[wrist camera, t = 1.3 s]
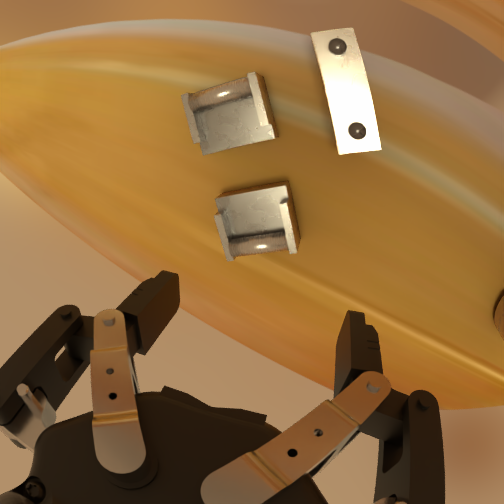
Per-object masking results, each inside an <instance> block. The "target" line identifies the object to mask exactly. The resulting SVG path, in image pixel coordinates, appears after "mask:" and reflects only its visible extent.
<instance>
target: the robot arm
mask: <svg viewBox="0 0 504 504" xmlns="http://www.w3.org/2000/svg"><path fill="white" fill-rule="evenodd" d="M179 304H180V292H179V276H178V274H177V273H172V272H168V271H164V270H163V271H161V272H160V273H159V274H158V275H157V276H156V277H155V278H150V279H148V280H145V281H143V282H142V283H141V284H140V285H139V286H138V287H137V288H136V289H135V290H134V291H133V292H132V294H130V295H129V296H128V297H127V298H126V299H125V300H124V301H123V302H122V303H121V304H120V305H119V306H118V307H117V308H116V309H106V310H103V311H101V312H99V313H98V314H97V315H96V316H95V317H91V316H82V315H81V313H80V310H79V308H78V307H77V306H75V305H64V306H62V307H59V308H58V309H57V310H56V311H55V312H53V314H51V315H50V317H48V318H47V319H46V321H44V323H43V324H41V325H40V326H39V328H38V329H36V331H34V333H33V334H32V335H31V336H30V337H29V338H28V339H27V340H26V341H25V342H24V343H23V344H22V345H21V347H19V348H18V349H17V351H16V352H15V353H14V354H13V355H12V356H11V357H10V358H9V359H8V360H7V361H6V363H5V364H4V365H3V366H2V367H1V368H0V430H1V431H2V432H3V433H4V434H5V436H7V437H8V438H9V439H10V440H11V441H12V442H13V443H14V444H15V445H17V446H18V447H20V448H24V449H26V448H27V449H29V450H30V451H31V452H33V453H34V458H33V464H32V467H31V471H30V474H29V476H28V478H27V479H26V480H25V481H24V482H23V483H22V484H21V485H19V486H18V487H16V488H14V489H12V490H10V491H8V492H5V493H3V494H1V495H0V504H328V502H327V501H326V499H325V498H324V496H323V495H322V493H321V492H320V490H319V489H318V487H317V485H316V484H315V482H314V481H313V479H312V478H314V477H315V476H316V475H317V474H318V473H320V472H321V471H322V470H323V469H324V468H325V467H326V466H327V465H328V464H329V463H330V462H331V461H332V460H333V459H334V458H335V457H336V456H337V455H338V454H339V453H340V452H342V451H343V450H344V449H345V448H346V447H347V446H348V445H349V444H350V443H351V442H352V441H353V440H354V439H355V438H356V437H357V436H358V435H359V434H360V433H361V432H362V433H365V434H367V435H370V436H372V437H375V438H377V439H379V453H378V466H377V477H376V487H375V494H374V502H373V504H445V469H444V452H443V439H442V430H441V421H440V413H439V406H438V402H437V400H436V398H435V397H434V396H433V395H432V394H431V393H429V392H428V391H425V390H416V391H414V392H412V393H411V394H410V396H408V395H406V394H403V393H401V392H398V391H396V390H394V389H392V388H391V384H390V382H389V380H388V379H387V378H386V377H385V376H384V375H383V369H382V360H381V352H380V345H379V338H378V333H377V332H376V330H375V328H374V327H373V326H372V325H366V324H365V315H364V313H362V312H356V311H351V310H348V311H347V313H346V316H345V319H344V322H343V325H342V327H341V330H340V333H339V336H338V340H337V344H336V362H335V383H334V399H333V400H331V401H329V400H325V401H324V402H322V403H321V404H320V405H318V406H317V407H316V408H315V409H313V410H312V411H311V412H310V413H308V414H307V415H306V416H304V417H303V418H302V419H300V420H299V421H298V422H296V423H295V424H294V425H292V426H291V427H290V428H288V429H287V430H285V431H284V432H283V433H282V432H281V431H279V430H278V429H277V428H275V427H273V426H272V425H270V424H268V423H266V422H265V421H266V417H267V415H264V414H259V413H255V412H251V411H247V410H243V409H233V408H216V407H211V406H208V405H207V404H205V403H203V402H201V401H200V400H198V399H196V398H194V397H193V396H191V395H189V394H187V393H184V392H182V391H179V390H176V389H173V388H170V387H167V386H164V387H163V389H162V391H161V392H143V393H140V389H139V384H138V379H137V374H136V368H135V362H134V358H133V356H134V355H135V353H136V352H137V353H139V354H142V355H146V353H147V352H148V350H149V349H150V348H151V346H152V345H153V344H154V342H155V341H156V339H157V338H158V337H159V335H160V334H161V333H162V331H163V330H164V328H165V327H166V326H167V324H168V323H169V321H170V320H171V319H172V317H173V316H174V315H175V313H176V312H177V310H178V308H179ZM494 322H495V325H496V327H497V329H498V331H499V333H500V335H501V336H502V338H503V340H504V295H503V297H502V298H501V300H500V302H499V304H498V306H497V308H496V311H495V316H494ZM63 346H64V347H65V350H64V352H63V353H62V354H61V355H60V356H59V357H58V359H57V360H56V361H55V356H56V354H57V353H58V352H59V350H60V349H61V348H62V347H63ZM89 364H91V388H92V403H93V411H91V412H88V413H85V414H82V415H80V416H77V417H74V418H71V419H68V420H65V421H62V422H59V423H56V424H54V423H55V421H56V413H55V412H56V410H57V409H58V407H59V406H60V404H61V403H62V401H63V400H64V399H65V397H66V396H67V395H68V393H69V392H70V390H71V388H73V386H74V385H75V383H76V382H77V380H78V379H79V378H80V376H81V375H82V374H83V372H84V371H85V370H86V368H87V367H88V365H89Z"/></svg>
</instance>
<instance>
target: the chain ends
mask: <svg viewBox="0 0 504 504" xmlns="http://www.w3.org/2000/svg"><path fill="white" fill-rule="evenodd" d="M247 76H248V77H245V78H241V79H237V80H234V81H231V82H227V83H224V84H221V85H218V86H214V87H211V88H208V89H205V90H202V91H199V92H197V93H186V94H183V95H181V97H182V101H183V105H184V109H185V113H186V117H187V120H188V124H189V128H190V132H191V136H192V139H193V143H194V144H195V143H199V142H200V146H201V150H202V154H203V155H207V154H211V153H214V152H218V151H222V150H226V149H230V148H234V147H238V146H242V145H247V144H251V143H255V142H260V141H264V140H269V139H274V138H277V137H279V136H278V132H277V128H276V124H275V120H274V116H273V112H272V108H271V104H270V100H269V96H268V92H267V88H266V85H265V81H264V77H263V76H261V75H259V74H258V73H256V72H252V73H248V74H247ZM215 201H216V204H217V208H218V212H217V213H216V214H215V215H214V218H215V222H216V225H217V228H218V232H219V235H220V239H221V242H222V245H223V249H224V252H225V255H226V259H227V261H234V259H235V258H236V257H238V256H246V255H254V254H262V253H270V252H279V251H287V250H289V253H290V254H293V253H297V251H298V247H299V243H300V239H301V238H300V233H299V228H298V223H297V218H296V213H295V208H294V203H293V198H292V194H291V189H290V184H289V181H283V182H278V183H272V184H266V185H261V186H256V187H250V188H245V189H240V190H235V191H230V192H225V193H222V194H220V195H219V196H218V197H217V198H215Z"/></svg>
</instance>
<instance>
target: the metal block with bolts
mask: <svg viewBox="0 0 504 504" xmlns="http://www.w3.org/2000/svg"><path fill="white" fill-rule="evenodd" d="M311 39H312V44H313V48H314V51H315V55H316V58H317V62H318V66H319V70H320V74H321V77H322V81H323V86H324V90H325V94H326V98H327V103H328V107H329V112H330V116H331V121H332V126H333V131H334V136H335V141H336V146H337V150H338V153H339V155H340V154H347V153H356V152H364V151H373V150H381V146H380V140H379V134H378V128H377V122H376V117H375V112H374V107H373V102H372V97H371V93H370V88H369V84H368V80H367V76H366V72H365V68H364V64H363V60H362V57H361V53H360V50H359V46H358V43H357V39H356V36H355V33H354V30H353V28H344V29H334V30H326V31H319V32H313V33H311Z"/></svg>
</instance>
